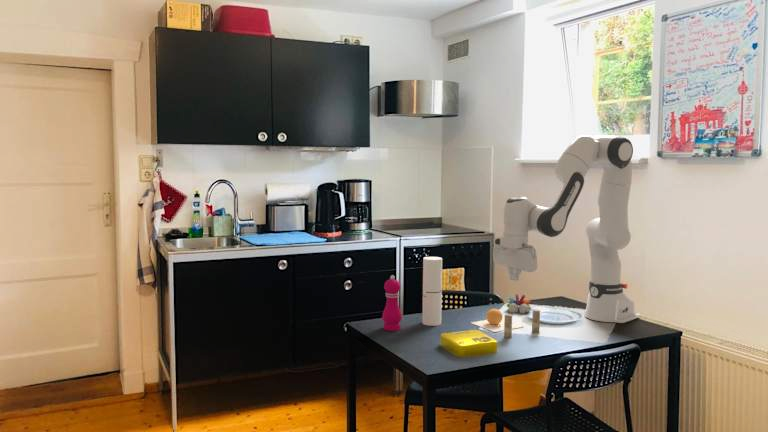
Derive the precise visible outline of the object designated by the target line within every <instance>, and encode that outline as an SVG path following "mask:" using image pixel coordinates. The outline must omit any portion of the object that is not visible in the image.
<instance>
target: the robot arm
mask: <svg viewBox="0 0 768 432" xmlns="http://www.w3.org/2000/svg"><path fill="white" fill-rule="evenodd" d="M633 153H634V146H633V144H632V142H631V140H630V139H628V138H626V137H624V136H616V135H610V134H605V135H595V134H592V135H579V136H577V137H576V138H575V139H574V140H573V141H572V142H571V143H570V144H569V145H568V147H566V149H565V151H564V152H563V153H562V155H561V156H560V157H559V159H558V160H557V161H556V164H555V167H554V171H555V174H556V175H555V176H556V178H557V179H558V180H559V181H560V182H561V183H562V184H563V187H562V188H561V191H560V193H559V195H558V197H557V199H556V200H555V202H554V204H553V205H551V206H548V207H547V206H542V205H538V204H536V203H534V202H532V201H531V200H529V199H528V198H527V197H526V196H514V197H511V198H509V199H507V200H505V201H506V202H505V205H504V210H503V226H504V228H503V232H502V236H500V237H496V238H494V239H493V245H494V246H493V248H492V249H493V250H492V260H493V263H494V264H497V265H500V266H505V267H507V272H508V274H509V280H512V281H514V282H515V281H520V279H519V276H520V275H521V272H522V271H524V272H528V273H533V272H536V271H537V269H538V257H537V250H536V249H535V247H534V246H533V245H532V244H531V245H530V244H529V232H534V233H537V234H541V235H544V236H547V237H550V238H553V237H557V236H560V235H561V234H562V233H563V232H564V230H565V228H566V225H567V223H568V218H569V216H570V214H571V212H572V209H573V207H574V206H575V204H576V202H577V200H578V198H579V196H580V194H581V192H582V189H583V187H584V184H585V177H586V175H587V173H588V172H589V170H590V168H591V167H592V165H593V164H597V165H602V167H603V168H602V169H603V171H602V175H601V178H600V184H599V185H600V186H599V189H598V191H599V192H598V198H597V205H598V210H599V217H596V218H593V219H591V220H590V221H588V223H587V225H586V230H585V231H586V235H587V238H588V248H589V254H590V280H589V283H588V291H589V292H588V295H587V300H586V305H585V306H586V307H585V309H584V317H585V318H587V319H589V320H593V321H597V322H602V323H603V322H604V323H618V324H625V323H627V322H631V321H633V320H635V319H639V318H641V313H639V312H637V311H635V302H634V301H633V299H631V297H629V296H628V295H626V293H625V292H624V289H625V290H627V289H628V283H624V282H622V283H621V272H622V271H621V269H622V263H621V260H620V256H619V252H618V251H619V250H623V249H625V248H626V247H627V246H628V245H629V244H630V242H631V236H632V235H631V232H630V230H629V229H630V228H629V215H628V209H629V208H628V206H629V199H630V192H631V185H632V181H633V180H632V178H633V164H632V163H633V162H632V158H633Z"/></svg>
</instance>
